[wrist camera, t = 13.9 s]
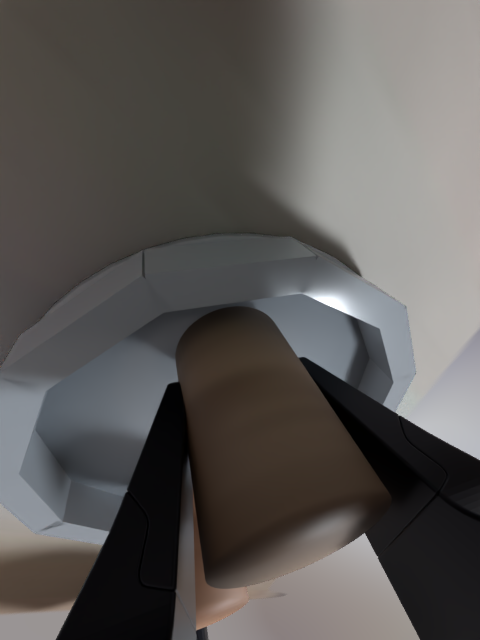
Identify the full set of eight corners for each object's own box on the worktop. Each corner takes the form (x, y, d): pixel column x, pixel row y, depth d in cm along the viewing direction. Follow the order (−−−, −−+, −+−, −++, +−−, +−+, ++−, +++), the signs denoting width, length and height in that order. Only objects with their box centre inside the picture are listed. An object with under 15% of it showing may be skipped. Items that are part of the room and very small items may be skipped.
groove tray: (338, 454, 22) (356, 485, 20) (88, 529, 18) (81, 577, 16) (435, 216, 11) (493, 234, 9) (-130, 260, 7) (-229, 308, 5)
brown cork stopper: (201, 491, 18) (222, 623, 13) (139, 493, 16) (137, 648, 11) (230, 454, 16) (266, 588, 11) (166, 451, 14) (176, 611, 10)
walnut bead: (275, 378, 12) (361, 544, 7) (181, 398, 11) (210, 604, 6) (284, 298, 10) (421, 465, 5) (167, 315, 9) (196, 541, 4)
